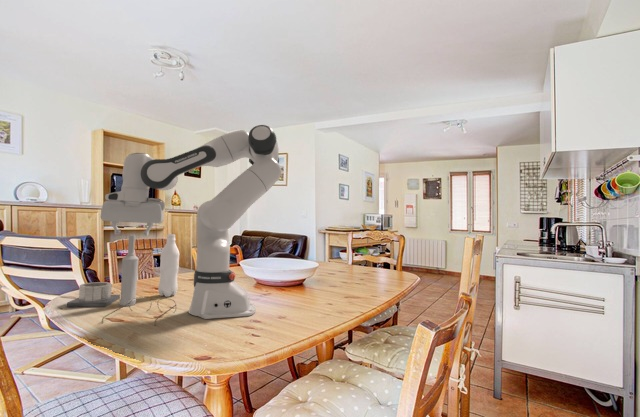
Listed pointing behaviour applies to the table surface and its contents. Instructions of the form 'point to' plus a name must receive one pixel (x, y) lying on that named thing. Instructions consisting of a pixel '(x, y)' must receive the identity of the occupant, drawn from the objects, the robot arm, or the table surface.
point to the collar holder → (94, 295)
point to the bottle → (129, 275)
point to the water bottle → (169, 268)
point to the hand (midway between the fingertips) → (131, 234)
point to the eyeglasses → (147, 310)
